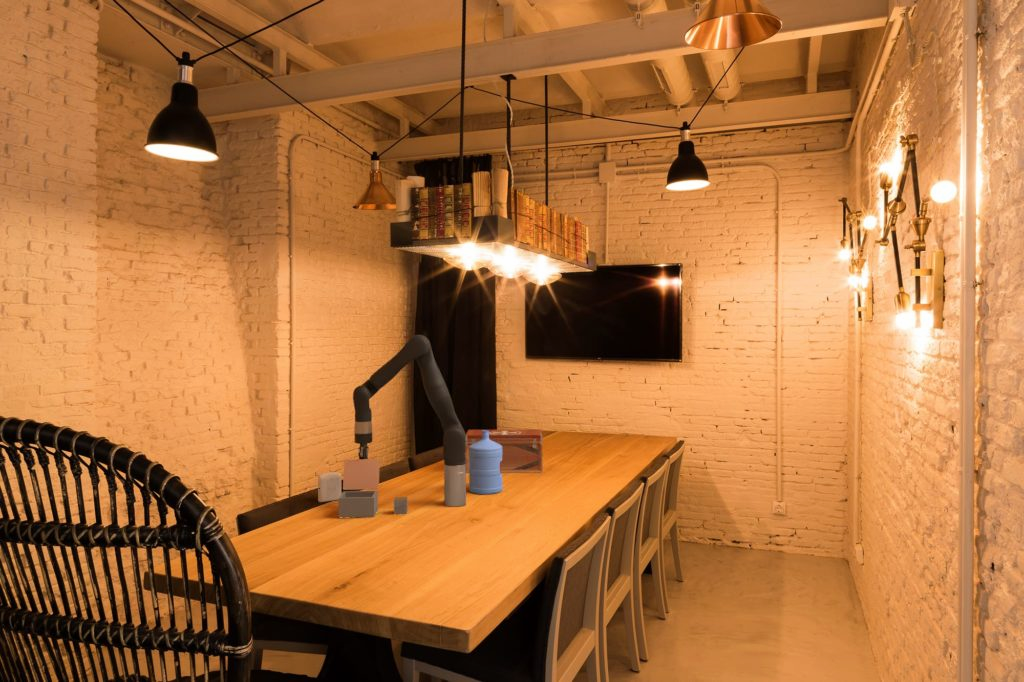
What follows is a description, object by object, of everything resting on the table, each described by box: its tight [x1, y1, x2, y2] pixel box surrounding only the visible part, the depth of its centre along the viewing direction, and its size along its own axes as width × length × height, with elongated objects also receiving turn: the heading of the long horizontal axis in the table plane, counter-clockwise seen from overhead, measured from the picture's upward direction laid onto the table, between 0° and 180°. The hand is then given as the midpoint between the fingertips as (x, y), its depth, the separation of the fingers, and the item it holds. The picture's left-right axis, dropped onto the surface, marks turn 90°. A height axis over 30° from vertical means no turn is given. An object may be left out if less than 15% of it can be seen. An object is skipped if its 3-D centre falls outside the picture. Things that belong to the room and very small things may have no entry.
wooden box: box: [465, 429, 544, 474], centre depth 365 cm, size 20×41×20 cm, turn 89°
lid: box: [342, 458, 381, 491], centre depth 286 cm, size 15×12×1 cm
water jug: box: [468, 429, 504, 495], centre depth 316 cm, size 16×16×28 cm
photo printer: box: [317, 471, 342, 503], centre depth 300 cm, size 10×4×12 cm, turn 123°
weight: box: [393, 496, 408, 514], centre depth 278 cm, size 5×5×6 cm
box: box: [337, 490, 379, 519], centre depth 277 cm, size 14×12×8 cm
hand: (363, 471), depth 292 cm, fingers closed
